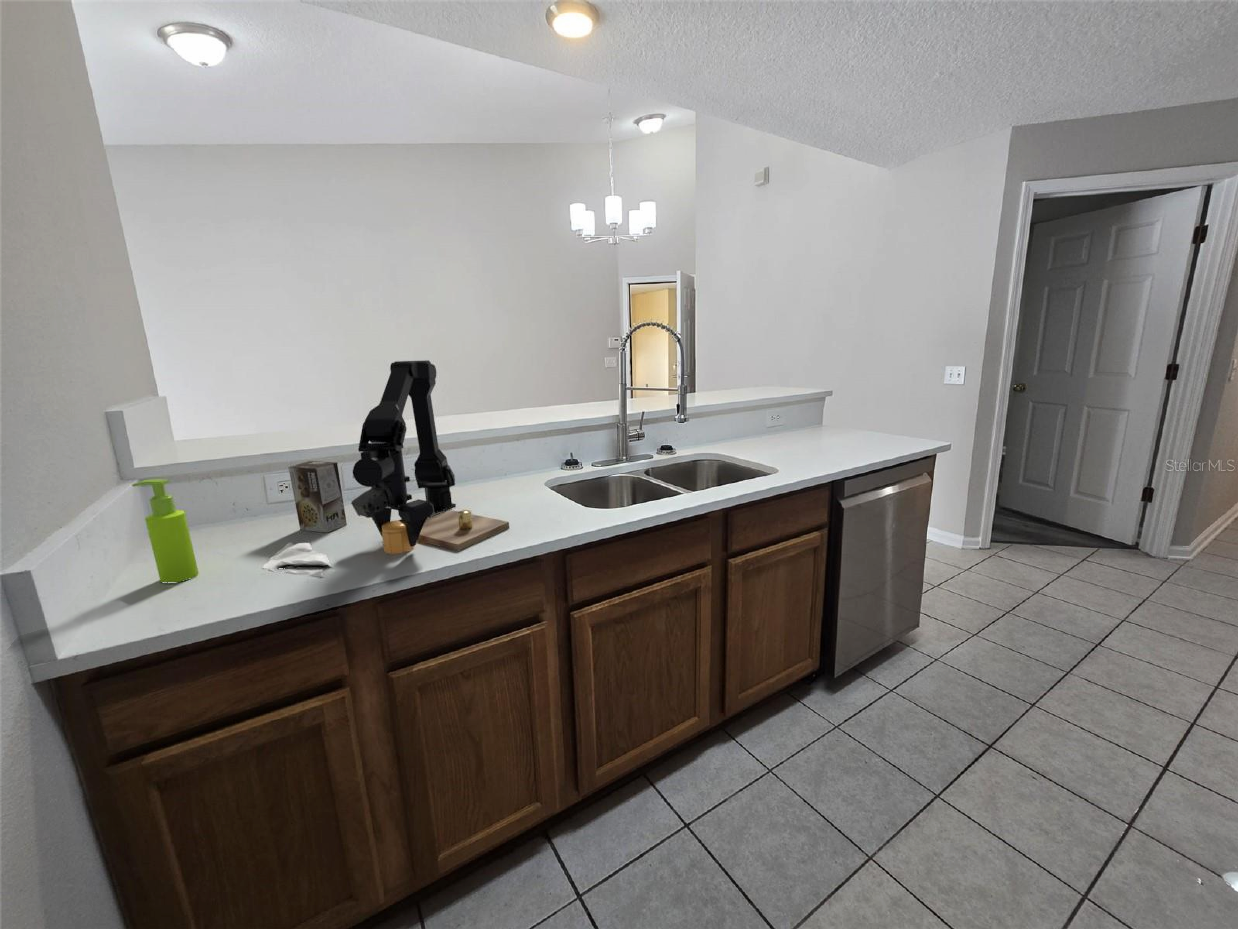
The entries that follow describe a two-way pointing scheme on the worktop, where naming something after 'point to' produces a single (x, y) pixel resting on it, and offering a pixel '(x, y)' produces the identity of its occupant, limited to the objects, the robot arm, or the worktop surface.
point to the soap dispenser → (169, 536)
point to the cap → (395, 537)
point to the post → (465, 520)
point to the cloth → (297, 560)
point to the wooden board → (458, 530)
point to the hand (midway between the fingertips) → (399, 542)
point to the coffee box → (318, 496)
